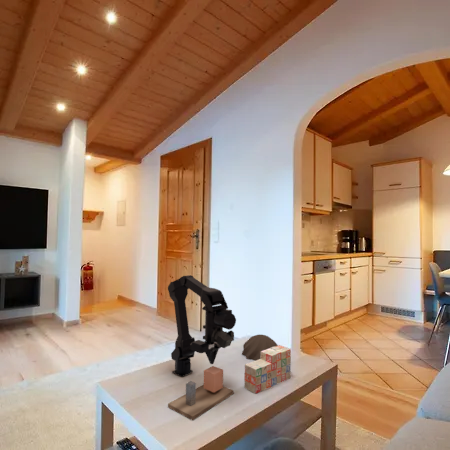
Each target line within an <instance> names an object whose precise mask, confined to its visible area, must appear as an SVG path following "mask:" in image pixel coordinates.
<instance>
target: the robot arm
mask: <svg viewBox="0 0 450 450" xmlns="http://www.w3.org/2000/svg"><path fill="white" fill-rule="evenodd" d="M189 290H190V291H192V292H193V293H195V294H196V295H197V296H198V297H200V302H202V304H203V305H204V306H203V307H202V310H203V311H205V316H204V317H205V321H204V322H205V323H204V324H203V325H202V329H204V335H203V336H202V340H200V339H197V340H196V339H195V337H192V335H191V334H190V330H189V329H190V328H189V320H188V314H187V313H188V312H187V305H186V299H187V297H188V292H189ZM167 291H168V293H169V294H168V295H169V298H170V299H171V301H172V302H173V304H174V312H175V314H174V315H175V322H176V328H177V330H176V331H177V338H176V340H175V342H174V347H175V348H174V349H173V350H172V352H171V353H170V357H171V359H172V361H174V370H172V371H171V372H172V374H175V375H177V376H179V377H182V378H183V377H184V376H187V375H189V374H191V373H193V370H192V369H191V366H192V364H191V358H194V357H195V353H198V354H204V353H205V355H206V358H207V360H208V361H209V364H210V365H213V364H214V363H215V360H216V358H217V354H218V352H219V350H220V349H221V348H223V349H226V348H227V347H230V346H231V344H232V342H234V341H235V332H234V331H233V328H234V327H235V325H236V322H237V318H236V316H235V314H234V313H233V310H232V309H229V307H228V303H227V301H226V300H225V299H226V298H225V297H224V294H223V292H222V291H221V290H220V289H217V288H214V287H209V286H207V285H205V284H204V283H203V282H201V281H200V280H198V279H196V278H195V277H194V276H193V275H183V276H180V277H179V278H177V279H175V280H173V281H170V283H169V284H168V285H167ZM223 328H224V329H225V330H229V331H224V329H223Z"/></svg>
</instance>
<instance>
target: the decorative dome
mask: <svg viewBox="0 0 450 450" xmlns="http://www.w3.org/2000/svg"><path fill="white" fill-rule="evenodd" d="M276 346H279V345H278V344H277V343H276V341H275V340H274V339H273V338H271V337H270V336H268V335H265V334H256V335H252V336H251V337H250V338H249V339H248V340H247V341H245V342H244V343H243V345H242V347H243V350H242V353H241V355H242V356H244V357H245V358H246V359H247V360H250V361H251V360H252V361H256V360H259V359H260V355H261V351H263V350H266V349H269V348H271V347H276Z"/></svg>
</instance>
